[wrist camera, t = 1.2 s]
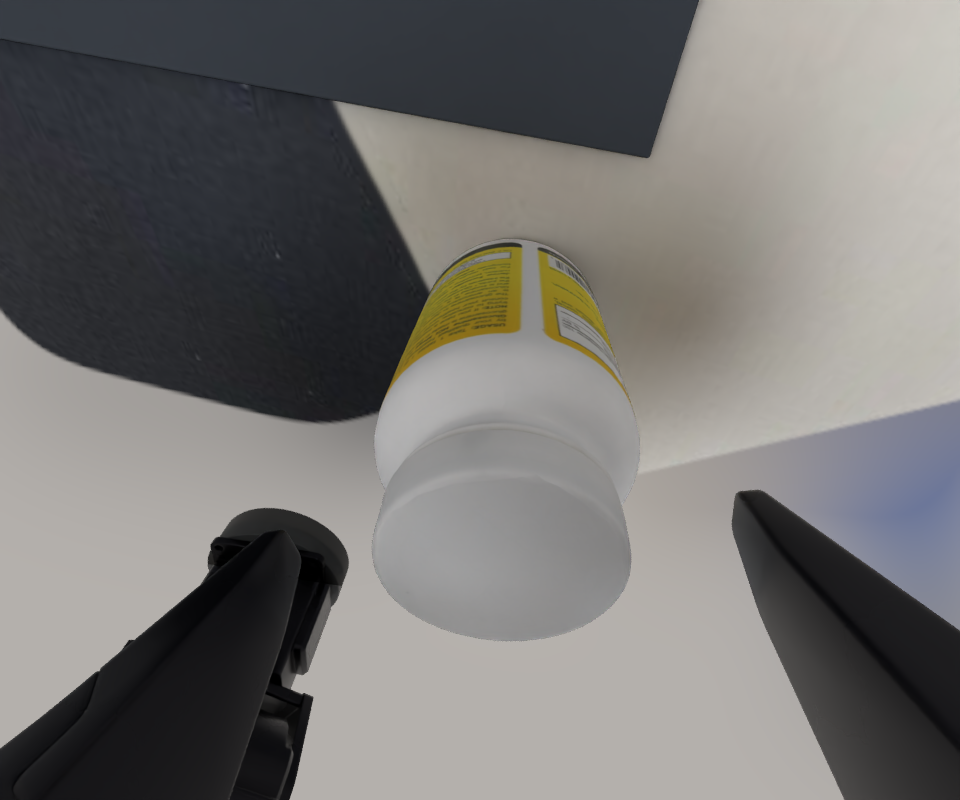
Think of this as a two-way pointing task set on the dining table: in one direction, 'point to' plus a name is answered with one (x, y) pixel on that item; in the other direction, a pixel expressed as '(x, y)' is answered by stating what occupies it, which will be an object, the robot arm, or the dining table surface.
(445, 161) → the dining table surface
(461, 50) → the left mat
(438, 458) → the pill bottle
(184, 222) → the dining table surface
